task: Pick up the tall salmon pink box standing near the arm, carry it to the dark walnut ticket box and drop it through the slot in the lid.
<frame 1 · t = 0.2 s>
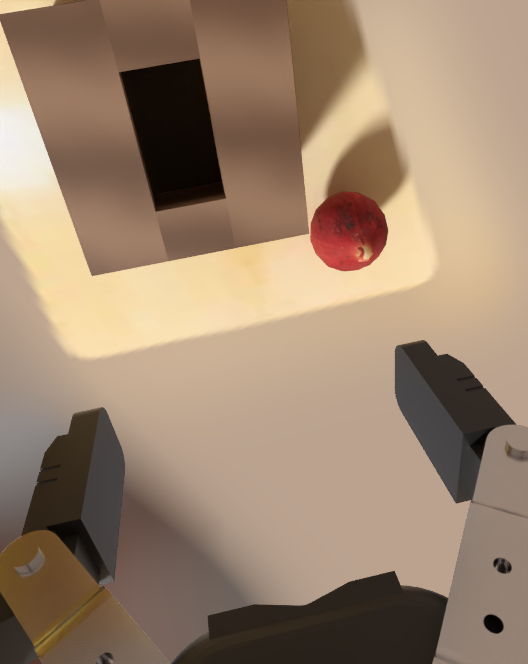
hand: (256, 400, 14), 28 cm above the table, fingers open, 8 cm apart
ticket box: (174, 110, 36), on the table
red pomegranate: (334, 215, 42), on the table
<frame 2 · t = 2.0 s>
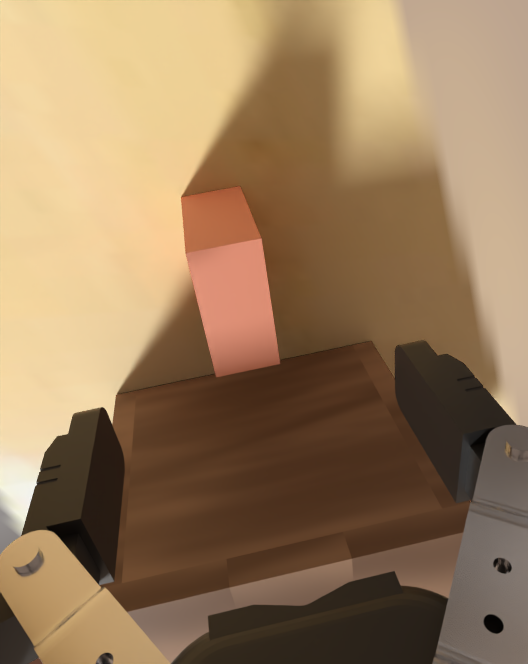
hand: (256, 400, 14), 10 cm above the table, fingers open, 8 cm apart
ticket box: (263, 456, 29), on the table
tall salmon pink box: (221, 248, 22), on the table
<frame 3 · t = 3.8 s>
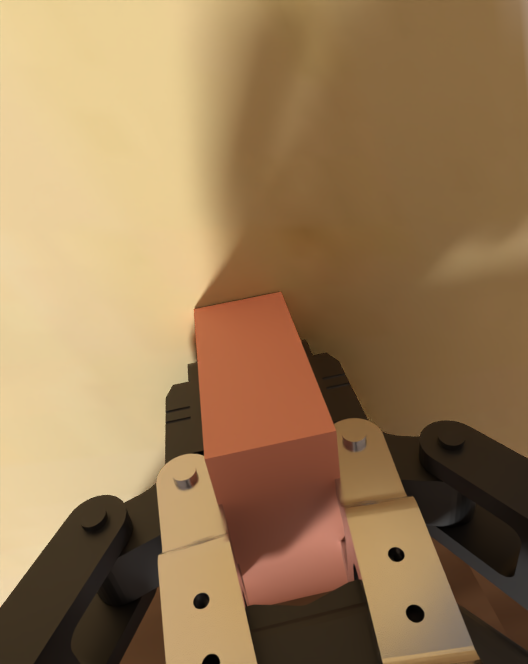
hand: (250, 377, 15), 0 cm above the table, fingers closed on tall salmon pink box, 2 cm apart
ticket box: (295, 607, 22), on the table
tall salmon pink box: (251, 373, 15), on the table, touching gripper
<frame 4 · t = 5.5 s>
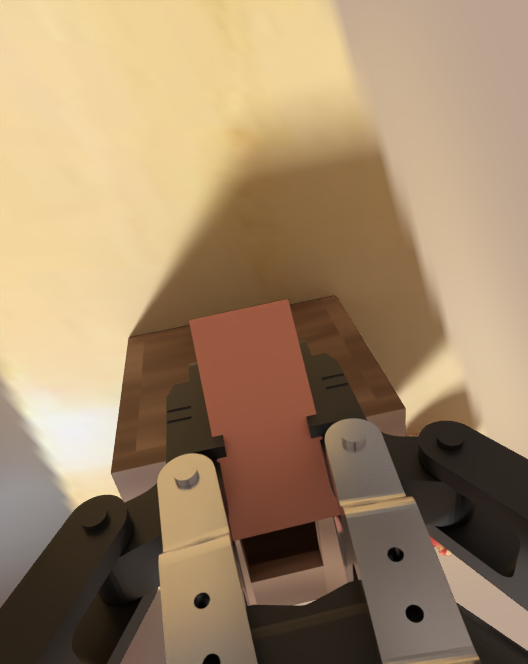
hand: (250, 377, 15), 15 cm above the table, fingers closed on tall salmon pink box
ticket box: (249, 397, 35), on the table
tall salmon pink box: (260, 423, 17), point 14 cm above the table, tilted 44°, touching gripper
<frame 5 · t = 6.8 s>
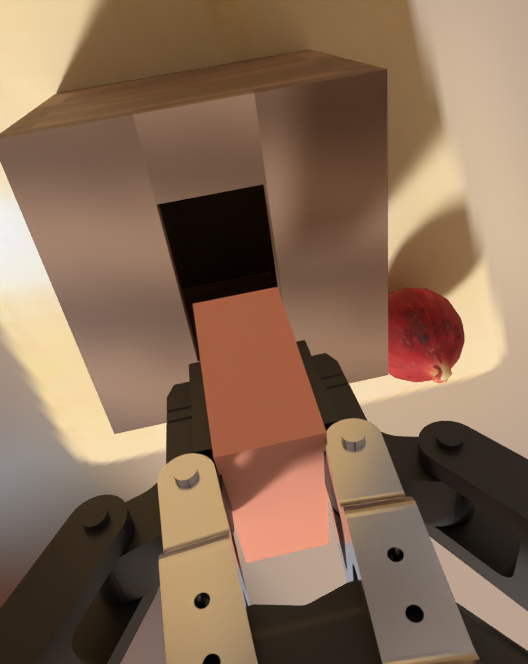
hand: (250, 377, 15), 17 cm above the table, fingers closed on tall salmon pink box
ticket box: (209, 196, 29), on the table
red pomegranate: (391, 304, 35), on the table
tall salmon pink box: (270, 475, 16), point 18 cm above the table, tilted 79°, touching gripper
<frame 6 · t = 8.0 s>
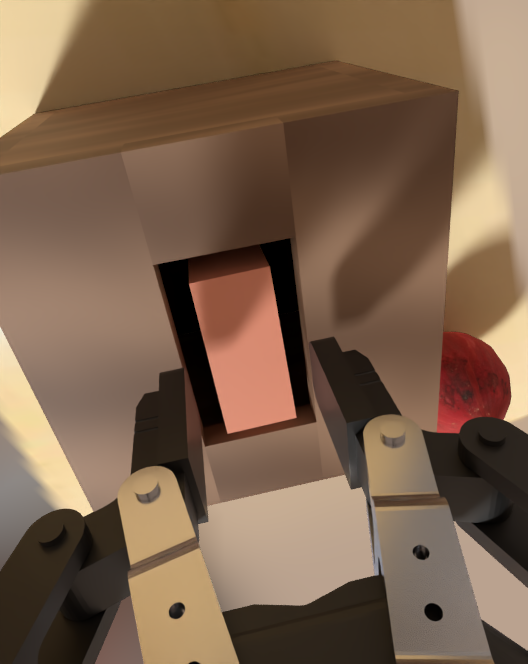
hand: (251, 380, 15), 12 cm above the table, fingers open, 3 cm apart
ticket box: (216, 230, 25), on the table
red pomegranate: (421, 346, 31), on the table
tall salmon pink box: (253, 387, 19), point 9 cm above the table, tilted 96°
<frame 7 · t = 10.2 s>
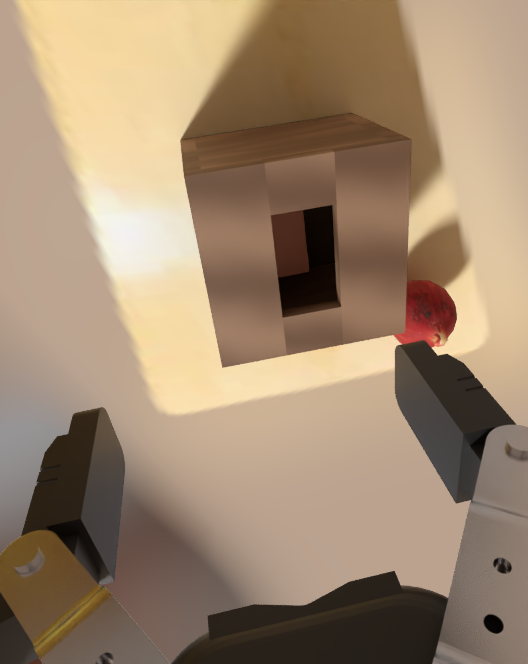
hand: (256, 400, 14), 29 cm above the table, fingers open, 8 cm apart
ticket box: (276, 211, 41), on the table
red pomegranate: (402, 294, 47), on the table
tall salmon pink box: (287, 261, 41), point 2 cm above the table, tilted 90°
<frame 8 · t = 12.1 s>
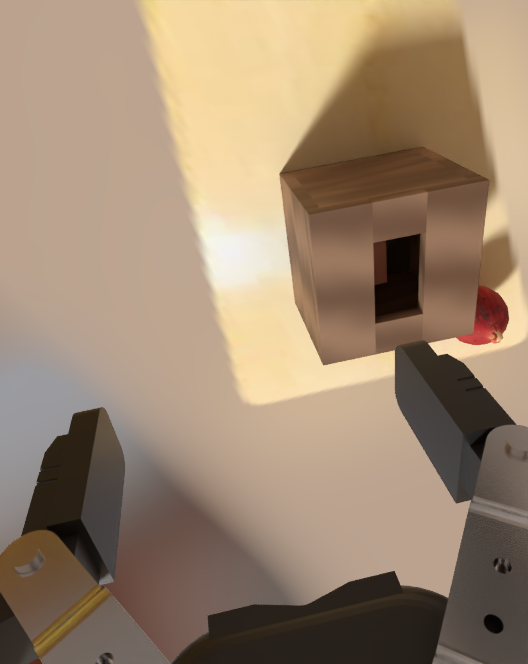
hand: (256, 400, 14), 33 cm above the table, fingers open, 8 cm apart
ticket box: (354, 229, 48), on the table
red pomegranate: (457, 297, 54), on the table
tall salmon pink box: (365, 273, 48), point 2 cm above the table, tilted 90°
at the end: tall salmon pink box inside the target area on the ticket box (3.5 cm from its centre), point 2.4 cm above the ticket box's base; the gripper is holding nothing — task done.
